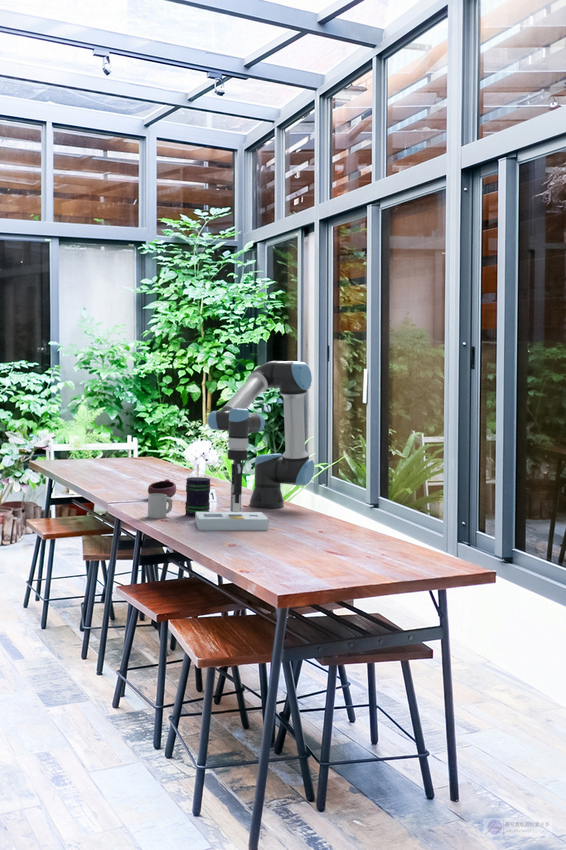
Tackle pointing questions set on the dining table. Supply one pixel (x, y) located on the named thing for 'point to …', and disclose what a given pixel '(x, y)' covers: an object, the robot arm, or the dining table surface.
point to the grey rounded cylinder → (232, 498)
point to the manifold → (231, 521)
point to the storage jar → (197, 495)
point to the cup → (158, 505)
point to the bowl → (163, 488)
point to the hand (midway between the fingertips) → (235, 510)
